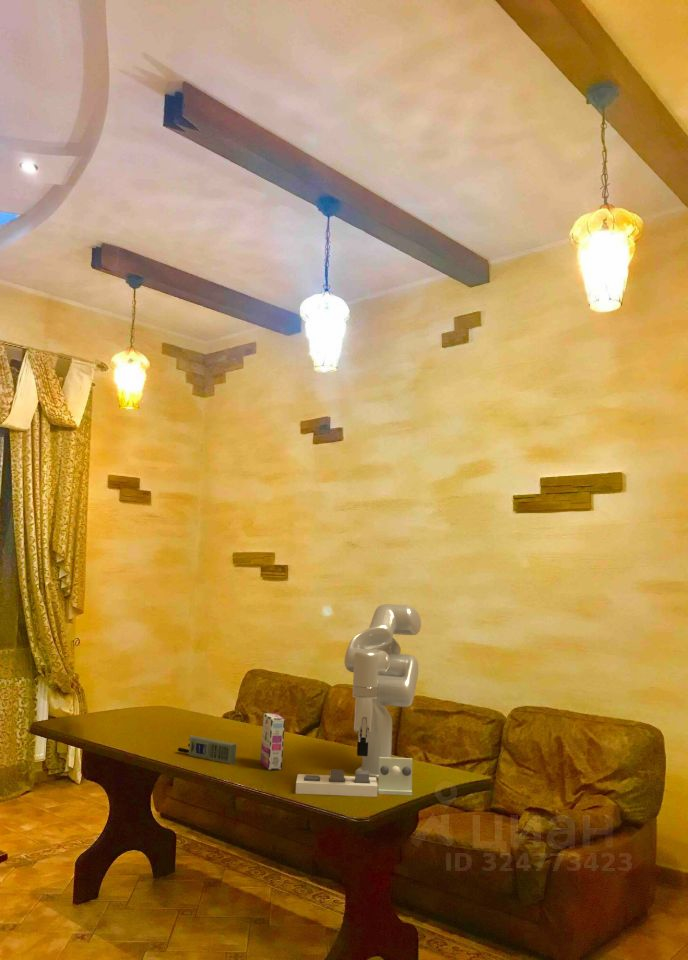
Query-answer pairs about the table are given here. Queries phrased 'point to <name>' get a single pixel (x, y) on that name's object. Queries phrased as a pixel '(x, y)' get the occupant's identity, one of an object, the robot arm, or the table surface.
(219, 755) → the handheld radio
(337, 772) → the middle button
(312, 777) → the left button
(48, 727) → the table surface
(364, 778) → the right button
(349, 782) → the button board
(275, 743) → the candy bar box
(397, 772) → the pattern placard
